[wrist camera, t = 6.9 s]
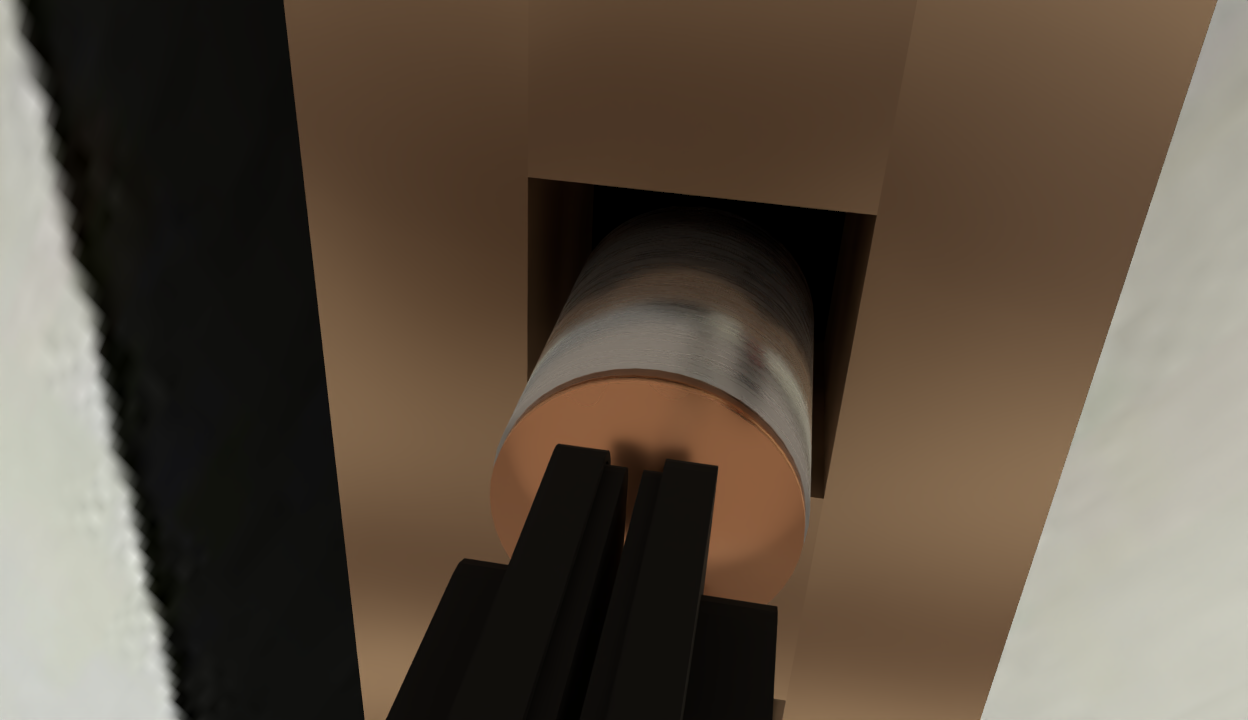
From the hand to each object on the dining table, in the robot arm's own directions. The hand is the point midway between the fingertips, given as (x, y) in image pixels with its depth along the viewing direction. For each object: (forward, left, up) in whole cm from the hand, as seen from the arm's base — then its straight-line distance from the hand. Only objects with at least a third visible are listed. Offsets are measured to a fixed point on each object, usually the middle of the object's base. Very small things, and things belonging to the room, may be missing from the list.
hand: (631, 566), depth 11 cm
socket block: (+4, 0, -10) cm, 11 cm away
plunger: (0, 0, -6) cm, 6 cm away
